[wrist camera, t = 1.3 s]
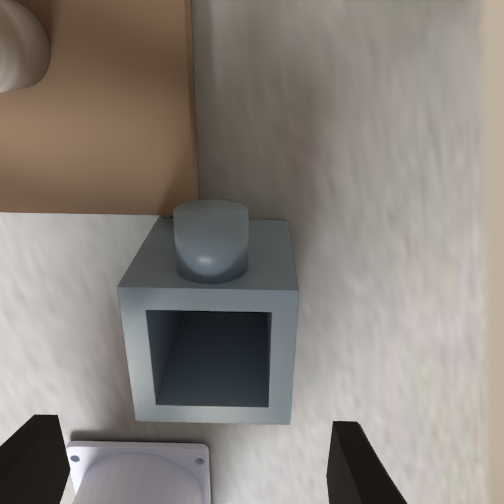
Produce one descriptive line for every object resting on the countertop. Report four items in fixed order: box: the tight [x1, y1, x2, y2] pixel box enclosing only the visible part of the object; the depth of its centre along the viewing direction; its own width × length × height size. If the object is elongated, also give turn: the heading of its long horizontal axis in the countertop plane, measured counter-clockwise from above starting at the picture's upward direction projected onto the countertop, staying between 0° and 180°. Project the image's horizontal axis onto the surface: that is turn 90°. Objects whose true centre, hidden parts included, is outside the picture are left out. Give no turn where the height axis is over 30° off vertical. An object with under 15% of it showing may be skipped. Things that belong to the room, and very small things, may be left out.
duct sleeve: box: [117, 199, 299, 425], centre depth 17 cm, size 8×6×6 cm
